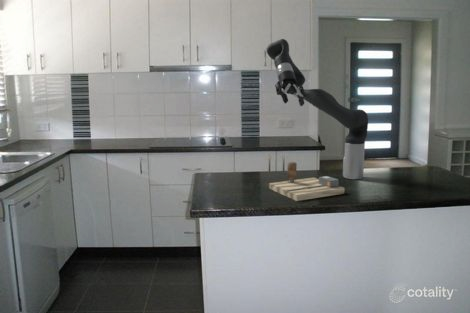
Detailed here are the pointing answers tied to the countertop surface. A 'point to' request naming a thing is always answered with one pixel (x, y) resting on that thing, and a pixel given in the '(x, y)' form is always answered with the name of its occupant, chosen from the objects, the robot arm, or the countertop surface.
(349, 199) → the countertop surface
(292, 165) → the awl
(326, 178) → the block
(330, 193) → the board
